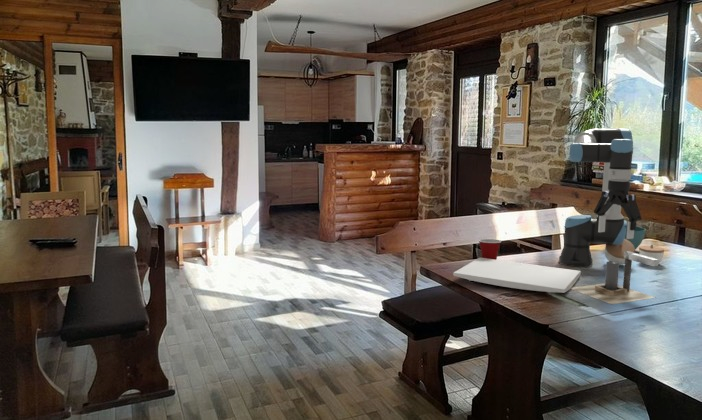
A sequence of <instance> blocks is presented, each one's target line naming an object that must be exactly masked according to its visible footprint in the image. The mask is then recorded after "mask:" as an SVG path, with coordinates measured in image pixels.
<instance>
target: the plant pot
mask: <svg viewBox="0 0 702 420" xmlns="http://www.w3.org/2000/svg"><path fill="white" fill-rule="evenodd" d="M646 230H647V229H646V228H645V227H641V226H637V225H636V229H635V230H634V238H633V239H626V238H627V229H626V234H625V238H624V239H626V240H628V241H630V242H631V243H632V244H633V246H634V248H635V250H637V249H638V248H639V247H640V246H641V244H642V243H643V241H644V238H645V235H646V232H647V231H646Z"/></svg>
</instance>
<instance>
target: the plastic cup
mask: <svg viewBox="0 0 702 420" xmlns="http://www.w3.org/2000/svg"><path fill="white" fill-rule="evenodd" d="M478 242H479V247H480V253H481V258H487V259H494V260H498V253H499V250H500V246H501V243H502V240H500V239H493V238H492V239H487V238H483V239H478Z"/></svg>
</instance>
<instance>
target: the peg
mask: <svg viewBox="0 0 702 420" xmlns="http://www.w3.org/2000/svg"><path fill="white" fill-rule="evenodd" d="M605 266H606V268H605V282H604V283H605V288H606V289H609V290H617V286H618V285H619V282H618V281H619V270H620V265H619V263H618V262H612V261H606V265H605Z"/></svg>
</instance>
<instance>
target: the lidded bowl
mask: <svg viewBox="0 0 702 420" xmlns="http://www.w3.org/2000/svg"><path fill="white" fill-rule="evenodd" d="M635 250H636V249H635V248H634V246H633V244H632V243H631V242H630V241H628V240H626V239H624V241H623V243H622V244H620V245H610V244H605V247H604V256H605V258H606V259H607V262H609V261H612V262H618V263H619V266H620V265H621V266H622V265H625V259H624V258H623V257H624V252H626V251H628V252H634V253H636V251H635Z"/></svg>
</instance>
